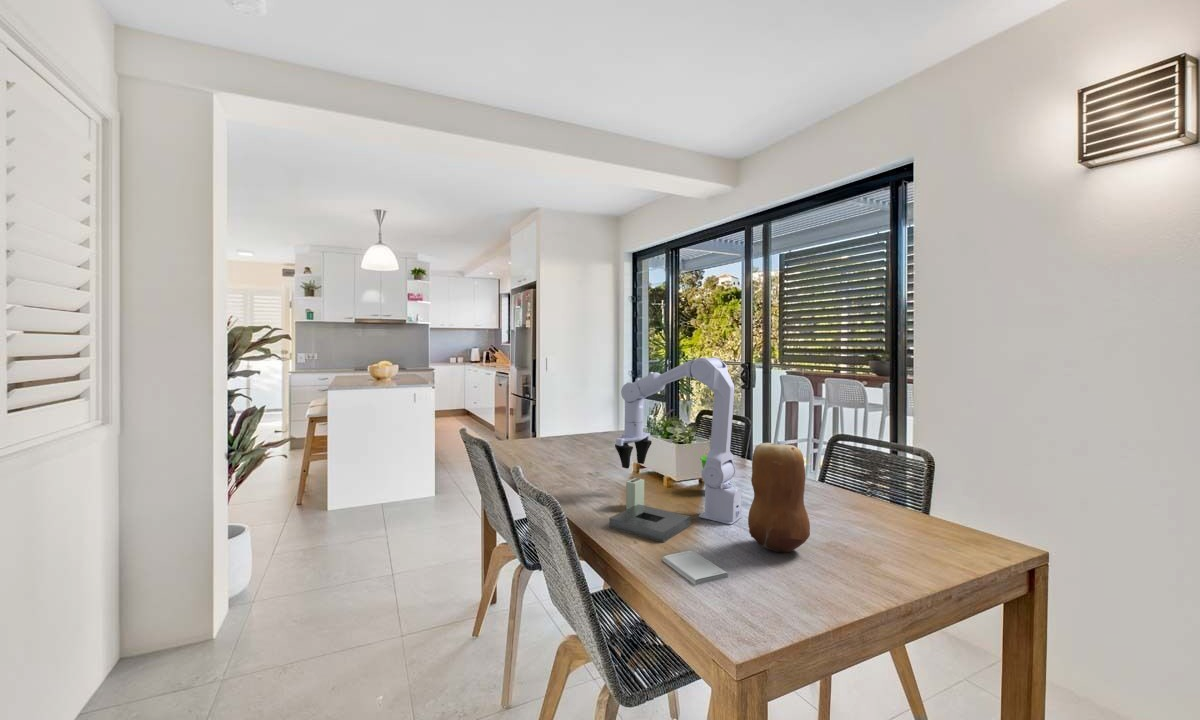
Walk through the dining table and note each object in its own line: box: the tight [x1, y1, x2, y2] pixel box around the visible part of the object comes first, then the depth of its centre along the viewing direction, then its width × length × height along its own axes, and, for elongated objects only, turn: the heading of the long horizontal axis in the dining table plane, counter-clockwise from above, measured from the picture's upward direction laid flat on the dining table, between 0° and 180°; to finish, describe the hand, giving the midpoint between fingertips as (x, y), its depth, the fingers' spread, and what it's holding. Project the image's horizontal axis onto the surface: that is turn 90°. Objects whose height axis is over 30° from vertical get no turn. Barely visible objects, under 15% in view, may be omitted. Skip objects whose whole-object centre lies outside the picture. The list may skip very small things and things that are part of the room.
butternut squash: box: [747, 442, 811, 554], centre depth 119 cm, size 14×13×25 cm
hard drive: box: [662, 550, 729, 586], centre depth 109 cm, size 2×8×12 cm
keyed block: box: [625, 477, 645, 510], centre depth 148 cm, size 3×5×8 cm, turn 144°
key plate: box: [608, 504, 691, 544], centre depth 133 cm, size 16×14×2 cm
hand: (633, 465), depth 157 cm, fingers open, 7 cm apart
